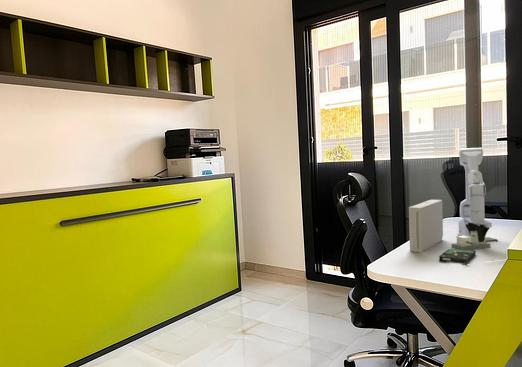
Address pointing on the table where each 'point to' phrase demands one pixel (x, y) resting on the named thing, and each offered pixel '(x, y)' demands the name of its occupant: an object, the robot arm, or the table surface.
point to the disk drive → (457, 256)
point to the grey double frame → (473, 246)
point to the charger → (475, 238)
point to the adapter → (464, 240)
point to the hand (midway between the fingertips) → (477, 240)
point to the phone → (490, 239)
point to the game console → (425, 225)
